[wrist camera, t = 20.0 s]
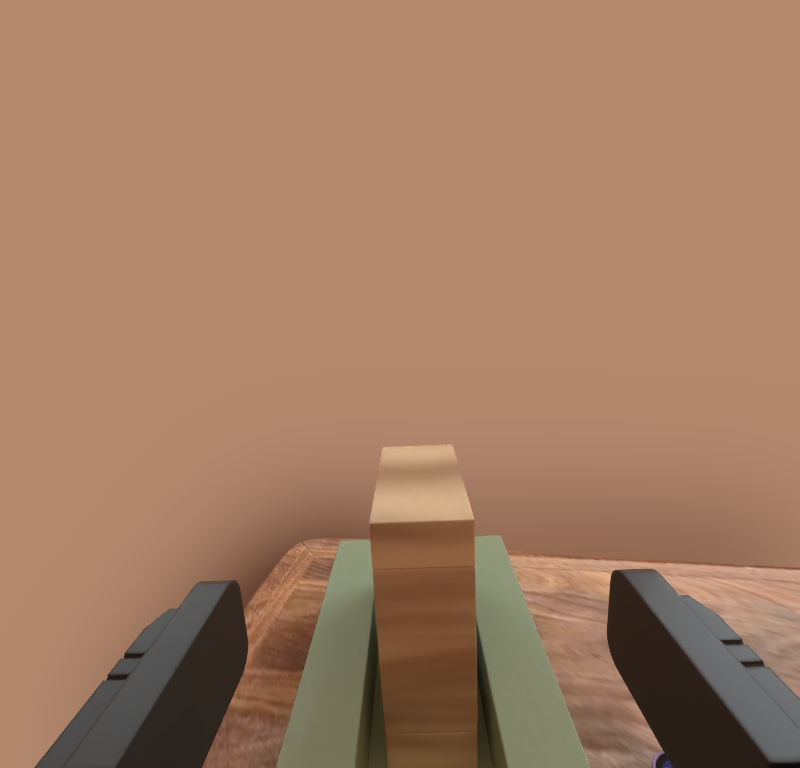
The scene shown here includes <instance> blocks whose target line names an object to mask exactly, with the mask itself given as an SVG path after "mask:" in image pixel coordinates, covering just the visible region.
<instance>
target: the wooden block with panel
mask: <svg viewBox="0 0 800 768" xmlns="http://www.w3.org/2000/svg"><path fill="white" fill-rule="evenodd" d="M369 531H370V545H371V558H372V568H373V570H372V572H373V585H374V598H375V612H376V625H377V638H378V651H379V665H380V678H381V691H382V704H383V718H384V731H385V743H386V756H387V767H388V768H477V767H478V708H477V642H476V577H475V520H474V517H473V513H472V510H471V506H470V503H469V500H468V497H467V493H466V489H465V486H464V483H463V479H462V476H461V472H460V469H459V466H458V462H457V459H456V455H455V452H454V449H453V446H452V445H429V446H404V447H383V448H382V454H381V460H380V465H379V471H378V476H377V482H376V488H375V493H374V499H373V504H372V510H371V515H370V521H369Z"/></svg>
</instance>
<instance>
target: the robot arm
mask: <svg viewBox="0 0 800 768" xmlns="http://www.w3.org/2000/svg"><path fill="white" fill-rule="evenodd" d="M607 639H608V645H609V649H610V652H611V656H612V658H613V661H614V663H615V665H616V667H617V669H618V671H619V673H620V675H621V676H622V678H623V680H624V682H625V684H626V685H627V687H628V689H629V691H630V692H631V694H632V696H633V698H634V699H635V701H636V703H637V705H638V707H639V708H640V710H641V712H642V714H643V715H644V717H645V719H646V721H647V723H648V724H649V726H650V728H651V730H652V731H653V733H654V735H655V737H656V739H657V740H658V742H659V744H660V746H661V747H662V749H663V751H664V753H665V755H666V756H667V758H668V760H669V762H670V763H671V765H672V767H673V768H800V698H799V697H798V696H797V695H796V694H795V693H794V692H793V691H792V690H791V689H790V688H789V687H788V686H787V685H786V684H785V683H784V682H783V681H782V680H781V679H780V678H779V677H778V676H777V675H776V674H775V673H774V672H773V671H772V670H771V669H770V668H769V667H765V665H764V663H763V660H762V659H761V658H760V657H759V656H758V655H757V654H756V653H755V652H754V651H753V650H752V649H751V648H750V647H749V646H748V645H744V644H743V642H742V639H741V638H740V637H739V636H738V635H737V634H736V633H735V632H734V631H733V630H732V629H731V628H730V627H729V626H728V625H727V624H726V623H725V622H724V620H723V619H722V618H721V617H720V616H719V615H717V614H716V613H714V612H713V611H711V610H710V609H708V608H707V607H705V606H704V605H702V604H701V603H699V602H698V601H696V600H694V599H693V598H691V597H690V596H688V595H683V596H680V595H679V594H678V593H677V592H676V591H675V590H674V589H673V588H672V587H671V586H670V584H669V583H668V582H667V581H666V580H665V579H664V578H663V577H662V576H661V575H660V574H659V573H658V572H657V571H656V570H654V569H628V570H614V571H613V573H612V575H611V581H610V595H609V609H608V623H607ZM247 653H248V637H247V630H246V624H245V617H244V611H243V604H242V598H241V592H240V587H239V584H238V582H237V581H235V580H230V581H202V582H199V583H197V584H196V585H195V586H194V587H193V589H192V590H191V591H190V593H189V594H188V596H187V597H186V598H185V600H184V601H183V602H182V604H181V605H180V606H179V608H178V609H169V610H168V611H166V612H165V613H164V614H163V615H161V616H160V617H159V618H158V619H156V620H155V621H154V622H153V623H151V624H150V625H149V626H147V627H146V628H145V629H144V630H143V631H142V632H141V634H140V635H139V636H138V637H137V639H136V640H135V641H134V643H133V644H132V645H131V646H130V648H129V649H128V650H127V651H126V653H125V656H124V658H123V659H120V660H119V661H118V663H117V664H116V665H115V667H114V668H113V669H112V670H111V672H110V673H109V674H108V678H107V680H106V681H103V682H102V683H101V684H100V685H99V687H98V688H97V689H96V691H95V692H94V693H93V694H92V696H91V697H90V698H89V699H88V701H87V702H86V703H85V704H84V706H83V707H82V708H81V709H80V711H79V712H78V713H77V714H76V716H75V717H74V718H73V720H72V721H71V722H70V723H69V725H68V726H67V727H66V728H65V730H64V731H63V732H62V734H61V735H60V736H59V737H58V738H57V740H56V741H55V742H54V744H53V745H52V746H51V747H50V749H49V750H48V751H47V752H46V754H45V755H44V756H43V758H42V759H41V760H40V761H39V763H38V764H37V765H36V766H35V768H202V766H203V763H204V761H205V759H206V757H207V754H208V752H209V750H210V747H211V745H212V743H213V740H214V738H215V736H216V734H217V731H218V729H219V727H220V724H221V722H222V720H223V718H224V715H225V713H226V711H227V708H228V706H229V704H230V702H231V699H232V697H233V695H234V692H235V690H236V688H237V686H238V683H239V681H240V679H241V676H242V674H243V671H244V668H245V664H246V659H247Z"/></svg>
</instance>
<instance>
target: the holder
mask: <svg viewBox="0 0 800 768" xmlns="http://www.w3.org/2000/svg"><path fill="white" fill-rule="evenodd" d="M372 570H373V568H372V558H371V545H370V540H355V541H340V542H339V546H338V549H337V553H336V557H335V560H334V564H333V567H332V571H331V574H330V578H329V581H328V585H327V588H326V592H325V595H324V599H323V602H322V606H321V609H320V613H319V617H318V620H317V624H316V627H315V631H314V634H313V638H312V641H311V645H310V648H309V652H308V655H307V659H306V662H305V666H304V669H303V673H302V677H301V680H300V684H299V687H298V691H297V694H296V698H295V701H294V705H293V708H292V712H291V715H290V719H289V722H288V726H287V729H286V733H285V737H284V740H283V744H282V747H281V751H280V754H279V758H278V761H277V765H276V768H388V767H387V756H386V743H385V731H384V718H383V704H382V691H381V678H380V665H379V651H378V638H377V625H376V612H375V598H374V585H373V572H372ZM475 577H476V642H477V708H478V767H477V768H590V765H589V762H588V760H587V757H586V755H585V752H584V749H583V747H582V744H581V742H580V739H579V737H578V734H577V731H576V729H575V726H574V724H573V721H572V719H571V716H570V713H569V711H568V708H567V706H566V703H565V701H564V698H563V695H562V693H561V690H560V688H559V685H558V682H557V680H556V677H555V675H554V672H553V670H552V667H551V664H550V662H549V659H548V657H547V654H546V652H545V649H544V646H543V644H542V641H541V639H540V636H539V634H538V631H537V628H536V626H535V623H534V621H533V618H532V615H531V613H530V610H529V608H528V605H527V603H526V600H525V597H524V595H523V592H522V590H521V587H520V585H519V582H518V579H517V577H516V574H515V572H514V569H513V567H512V564H511V561H510V559H509V556H508V554H507V551H506V549H505V546H504V543H503V541H502V538H501V536H475Z"/></svg>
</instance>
